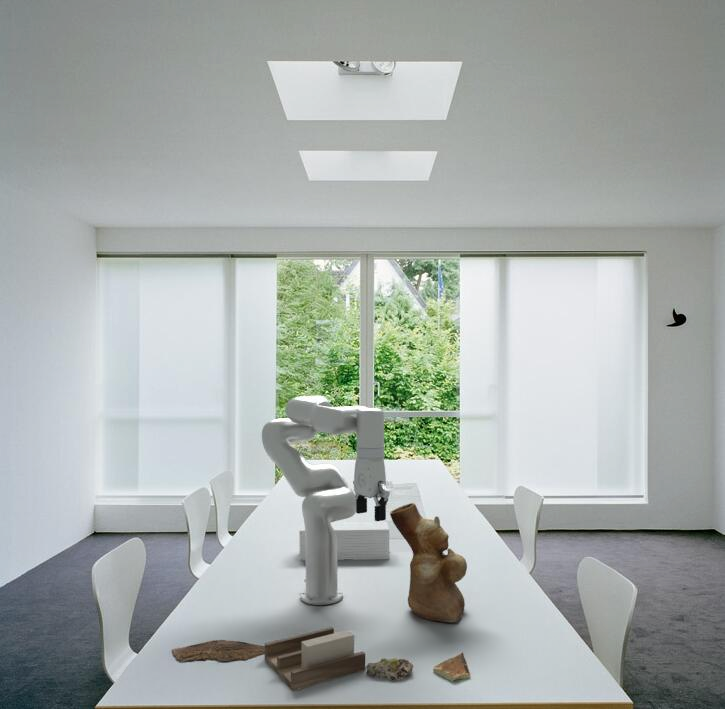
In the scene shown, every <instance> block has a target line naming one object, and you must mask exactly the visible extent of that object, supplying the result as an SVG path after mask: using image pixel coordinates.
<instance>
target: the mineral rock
mask: <svg viewBox="0 0 725 709" xmlns="http://www.w3.org/2000/svg"><path fill="white" fill-rule="evenodd" d="M365 669H366V671H365V672H366V674H367V675H370V676H371V678H372V677H373V678H376V679H377V678H379V679H387V680H389V681H400V680H405V679H406V677H409V675H411V674H412V673H413V669H414V664H413V662H411V661H410V660H408V659H406V658H399V659H398V658H397V657H395V658H389V659H388V658H381V659H380V660H379V661H376V662H368V664H367V665H365Z"/></svg>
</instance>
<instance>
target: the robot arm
mask: <svg viewBox="0 0 725 709" xmlns="http://www.w3.org/2000/svg"><path fill="white" fill-rule="evenodd" d="M285 416H286V417H284V418H282V417H281V418H275V419H271V420H269V421H268V422H267V423H265V424H264V425H263V427H262V430H261V442H262V446H263V448H264V451H265V452H266V454H267V456H268V457H269V459H270V460H271V461H272V462H273V463H274V464H275V465H276V466H277V468H278V469H279V470H280V472H281V473H282V475H283V477H284V478H285V480H286V481H287V483H288V485H290V487H291V489H292V490H293V491H294V493H295V494H296V495H297V497H301V498H304V499H303V500H302V503H301V513H302V518H303V523H304V524H305V546H306V560H305V579H304V583H305V589H303V590H302V591H301V592H300V595H299V596H300V600H301V601H302V602H304V603H306V604H309V605H315V606H324V605H326V606H328V605H332V604H335V603H338V602H339V601H341V600H342V599H343V597H344V596H343V590H342V589H340V588H338V560H337V536H336V533H335V531H334V529H333V528H332V526H331V523H333V522H338V521H342V520H347V519H349V518H353V517H354V516H355V514H365V513H367V512H368V499H373V501H374V503H375V506H374V522H384V521H386V519H387V505H388V501H389V496H390V493H391V491H390V490H389V489H388V488H387V480H386V479H387V478H386V477H387V476H386V465H385V413H384V411H383V409H381V408H378V407H375V408H374V407H367V406H364V405H349V406H346V405H345V406H335V407H333V405H332V404H331V403H330V401H329V400H328V399H327V398H326V397H325V396H321V395H303V396H295V397H293V398H291V399H290V400H288V402H287V403H286V406H285ZM318 433H323V434H328V435H344V434H345V435H346V434H356V458H355V464H354V475H353V483H352V484H353V489H352V488H351V486H350V485H349V483H348V482H347V480H346V479H345V478H344V477H343V475H342V474H341V472H340V471H339V470H338V468H337V467H335V466H334V465H332V464H330V463H318V464H311V463H310V462H308V460H307V459H306V458H305V456H304V454H302V453H301V451H299V450H298V449H297V448H295V447H294V446H291V445H292V444H293V445H294V444H303V443H307V442H310V441H312V440H313V439H314V438H315V437H316V436H317V434H318Z"/></svg>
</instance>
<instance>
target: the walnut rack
mask: <svg viewBox="0 0 725 709" xmlns="http://www.w3.org/2000/svg"><path fill="white" fill-rule="evenodd" d="M334 633H335V628H334V627H332V626H331V627H326V628H322V629H319V630H318V629H317V630H314V631H310V632H306V633H302V634H297V635H293V636H288V637H286V638H282V639H277V640H273V641H268V642H265V643H264V646H265V653H264V660H265V661H266V662H267V663H268V664H269V666H270V667H271V668H272V669H273V670H274V671H275V673H277V675H278V676H279V677H280V678H281V679H282V681H284V683H286V685H287V686H288V687H289V688H290V689H291V690H292V691H297V690H299V689H304V688H307V687H310V686H315V685H317V684H321V683H325V682H327V681H331V680H334V679H338V678H341V677H344V676H349V675H353V674H355V673H358V672H362V671H365V670H366V652H364V650H362V651H359V652H354V654H351V655H347V656H344V657H340V658H336V659H333V660H329V661H325V662H322V663H318V664H315V665H311V666H307V667H304V668H302V667H301V642H302V641H306V640H310V639H314V638H318V637H322V636H326V635H330V634H334Z"/></svg>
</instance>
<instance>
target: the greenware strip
mask: <svg viewBox="0 0 725 709" xmlns="http://www.w3.org/2000/svg"><path fill="white" fill-rule="evenodd" d="M351 654H355V634H354V633H352V632H351V630H349V629H345V630H341V631H338V632H334V634H330V635H326V636H322V637H318V638H314V639H310V640H306V641H302V642H301V667H302V668H304V667H307V666H311V665H315V664H318V663H322V662H325V661H329V660H333V659H336V658H340V657H344V656H347V655H351Z"/></svg>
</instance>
